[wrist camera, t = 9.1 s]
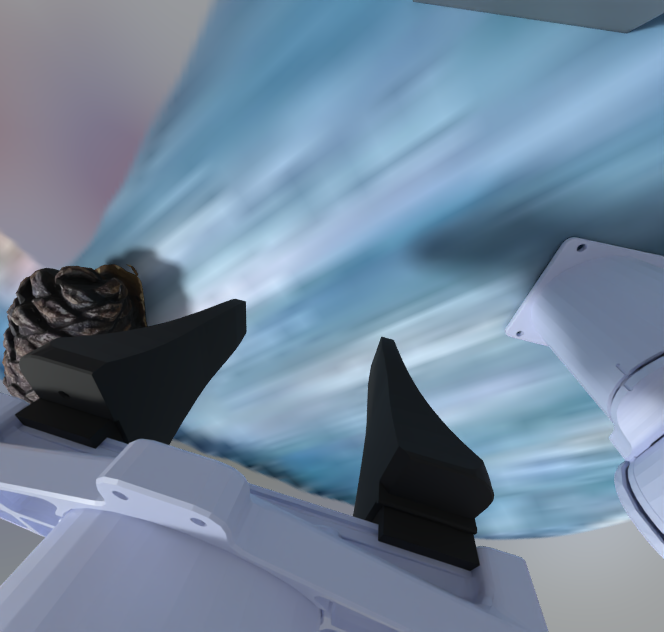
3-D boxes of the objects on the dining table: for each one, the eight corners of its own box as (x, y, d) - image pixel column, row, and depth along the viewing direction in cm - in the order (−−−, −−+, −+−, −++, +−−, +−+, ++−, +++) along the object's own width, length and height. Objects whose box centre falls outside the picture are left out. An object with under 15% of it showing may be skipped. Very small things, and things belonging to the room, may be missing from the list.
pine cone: (154, 267, 25) (34, 321, 17) (156, 379, 35) (81, 448, 26) (54, 221, 25) (-122, 252, 16) (84, 347, 34) (-16, 407, 26)
